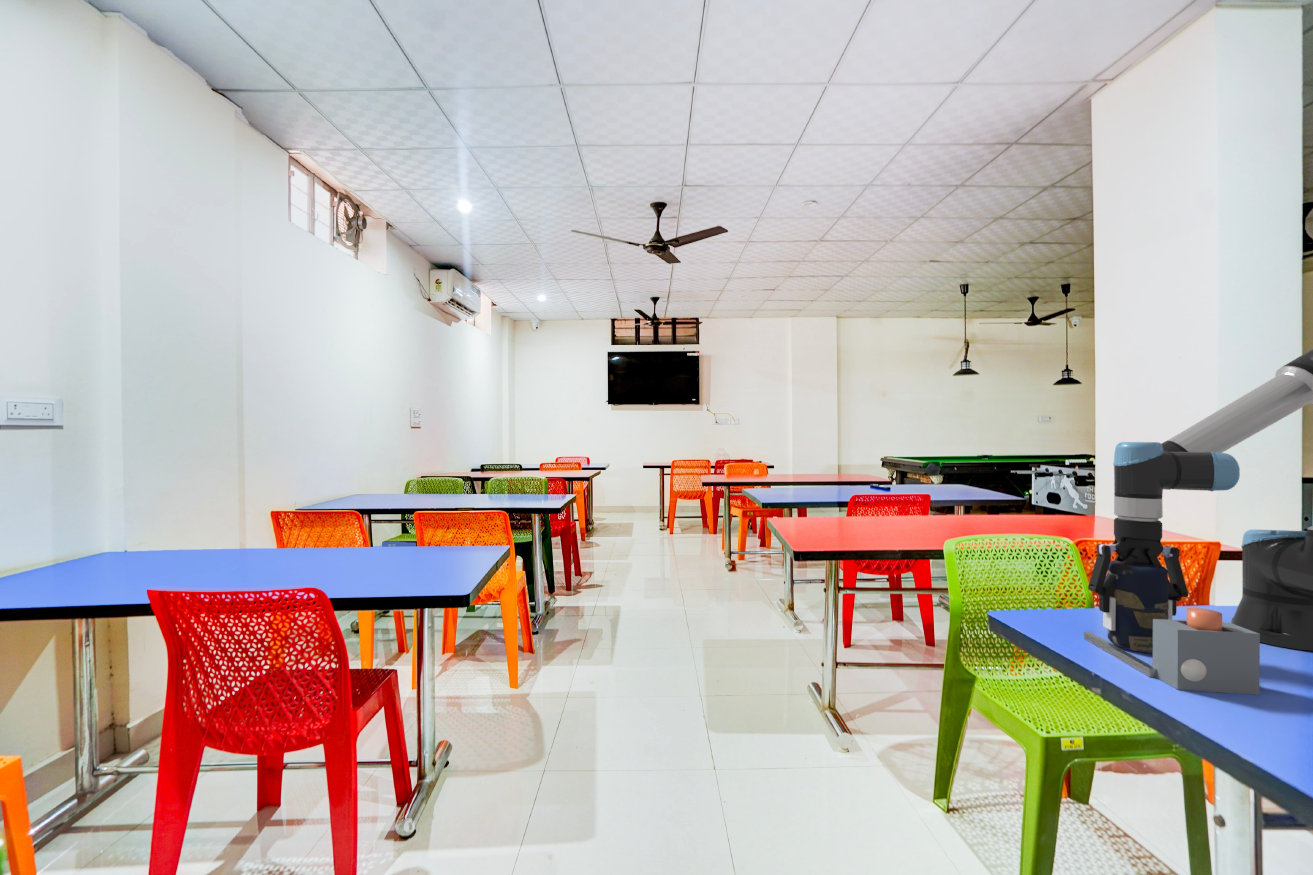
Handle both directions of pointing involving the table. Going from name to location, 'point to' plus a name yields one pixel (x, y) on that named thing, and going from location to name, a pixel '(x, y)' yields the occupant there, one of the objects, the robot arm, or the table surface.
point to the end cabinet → (1207, 657)
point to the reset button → (1204, 619)
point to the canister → (1138, 604)
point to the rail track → (1121, 654)
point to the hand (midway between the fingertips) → (1137, 629)
